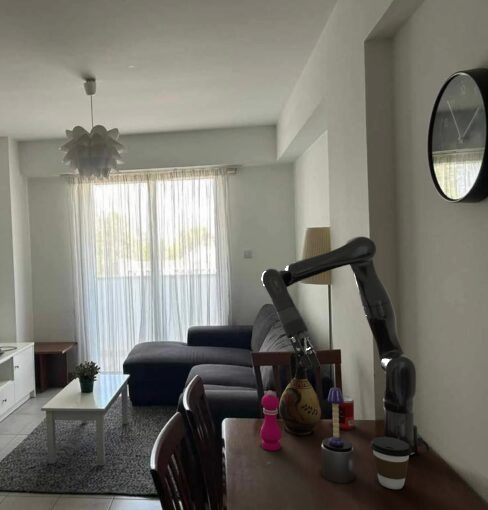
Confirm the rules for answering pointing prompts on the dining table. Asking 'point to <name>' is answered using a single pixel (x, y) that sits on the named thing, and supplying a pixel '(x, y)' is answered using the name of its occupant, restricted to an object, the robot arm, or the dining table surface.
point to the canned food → (346, 413)
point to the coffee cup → (391, 461)
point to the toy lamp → (335, 415)
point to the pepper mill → (270, 423)
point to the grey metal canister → (337, 462)
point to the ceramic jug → (299, 401)
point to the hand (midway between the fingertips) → (313, 366)
